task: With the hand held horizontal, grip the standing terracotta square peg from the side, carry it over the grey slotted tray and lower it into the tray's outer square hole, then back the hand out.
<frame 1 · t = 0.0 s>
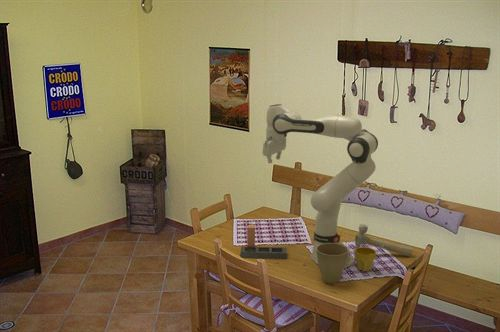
hand: (274, 161, 286), 48 cm above the table, tool pointing down, fingers open, 8 cm apart
peg: (251, 247, 297), on the table
hammer: (382, 255, 289), on the table
grey slotted tray: (263, 255, 287), on the table
plant pot: (330, 280, 260), on the table
plant pot 2: (364, 269, 272), on the table
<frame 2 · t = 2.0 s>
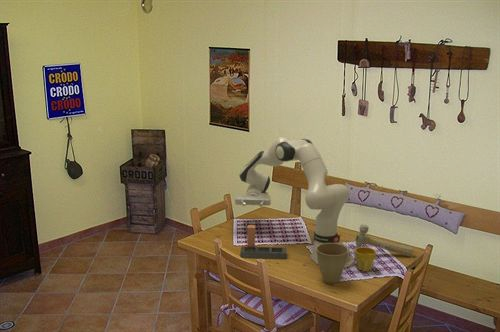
hand: (252, 205, 303), 20 cm above the table, tool horizontal, fingers open, 8 cm apart
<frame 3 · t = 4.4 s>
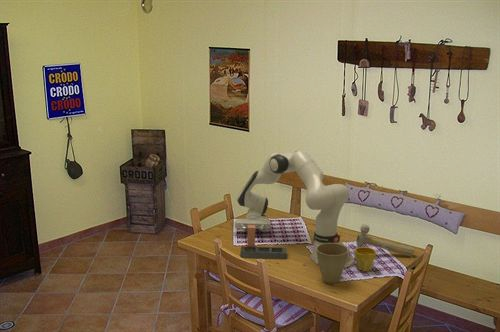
hand: (252, 229, 304), 7 cm above the table, tool horizontal, fingers open, 8 cm apart
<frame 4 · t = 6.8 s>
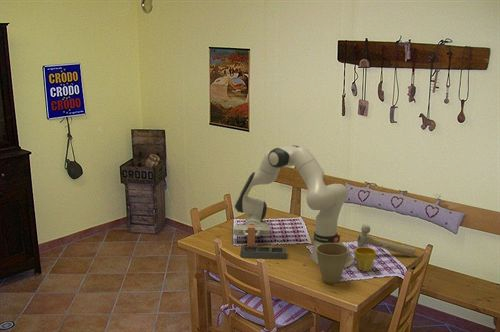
hand: (251, 235, 294), 7 cm above the table, tool horizontal, fingers closed on peg, 4 cm apart
peg: (251, 247, 297), on the table, touching gripper
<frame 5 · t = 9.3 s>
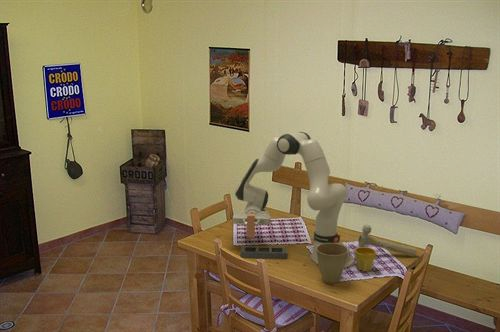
hand: (251, 224, 283), 17 cm above the table, tool horizontal, fingers closed on peg, 4 cm apart
peg: (250, 236, 286), point 10 cm above the table, touching gripper
when the fingers open (9 cm above the table, at t = 11.8 s): peg drops 2 cm, resting in grey slotted tray.
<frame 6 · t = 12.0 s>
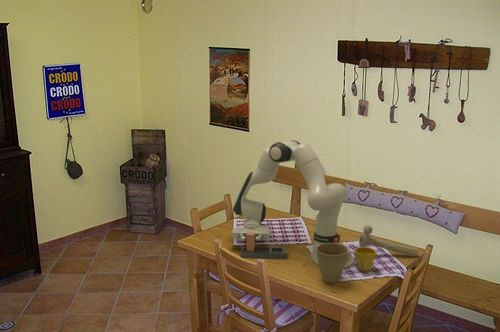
hand: (250, 239, 284), 9 cm above the table, tool horizontal, fingers open, 6 cm apart
peg: (250, 254, 287), resting in grey slotted tray
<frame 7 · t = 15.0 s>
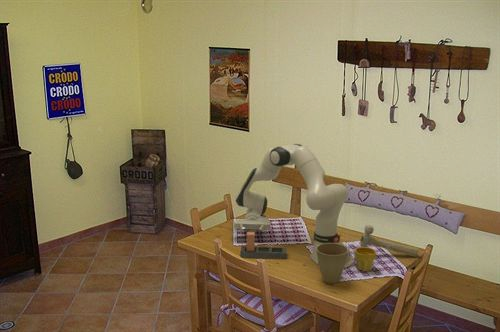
hand: (251, 229, 296), 9 cm above the table, tool horizontal, fingers open, 8 cm apart
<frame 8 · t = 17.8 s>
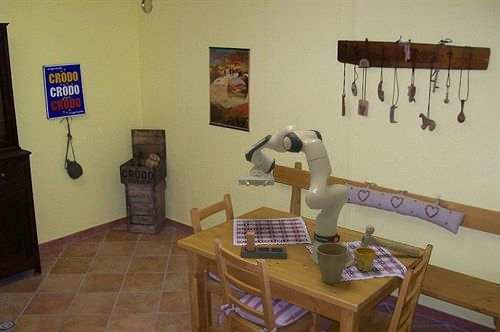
hand: (256, 184, 300), 32 cm above the table, tool horizontal, fingers open, 8 cm apart
at the end: peg 0.0 cm from the target spot, resting in grey slotted tray; peg tilted 0°; the gripper is holding nothing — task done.
